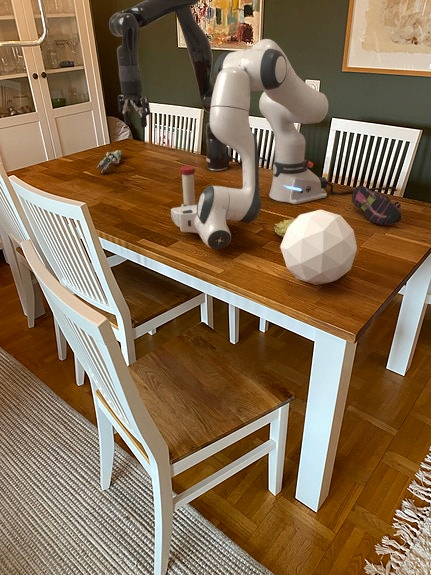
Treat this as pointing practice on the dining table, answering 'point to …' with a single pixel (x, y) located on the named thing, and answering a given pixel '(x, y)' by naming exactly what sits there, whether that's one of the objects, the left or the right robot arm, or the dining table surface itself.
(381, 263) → the dining table surface
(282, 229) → the decorative object
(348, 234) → the sphere
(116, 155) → the figurine
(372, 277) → the dining table surface
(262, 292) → the dining table surface
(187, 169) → the lid
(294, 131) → the right robot arm
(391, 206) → the athletic shoe
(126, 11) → the left robot arm
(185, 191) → the beige cylinder
